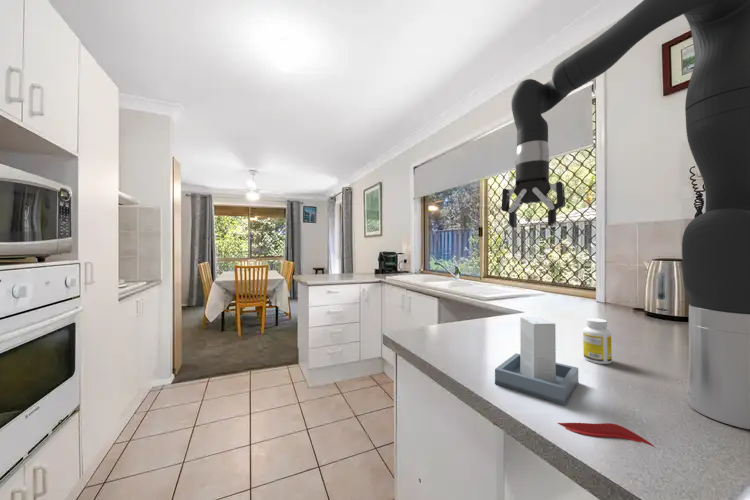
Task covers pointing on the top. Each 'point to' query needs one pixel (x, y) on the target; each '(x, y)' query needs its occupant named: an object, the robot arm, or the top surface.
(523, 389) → the tray
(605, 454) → the top surface
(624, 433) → the cayenne pepper
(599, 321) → the supplement bottle
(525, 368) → the skincare box
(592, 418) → the top surface
